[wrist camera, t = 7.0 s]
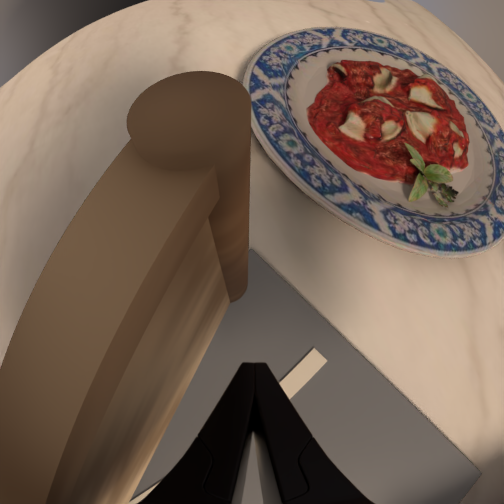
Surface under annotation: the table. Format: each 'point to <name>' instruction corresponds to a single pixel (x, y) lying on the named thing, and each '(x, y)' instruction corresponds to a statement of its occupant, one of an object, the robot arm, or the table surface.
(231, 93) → the fence panel
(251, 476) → the card
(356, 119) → the ceramic plate
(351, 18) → the table surface
